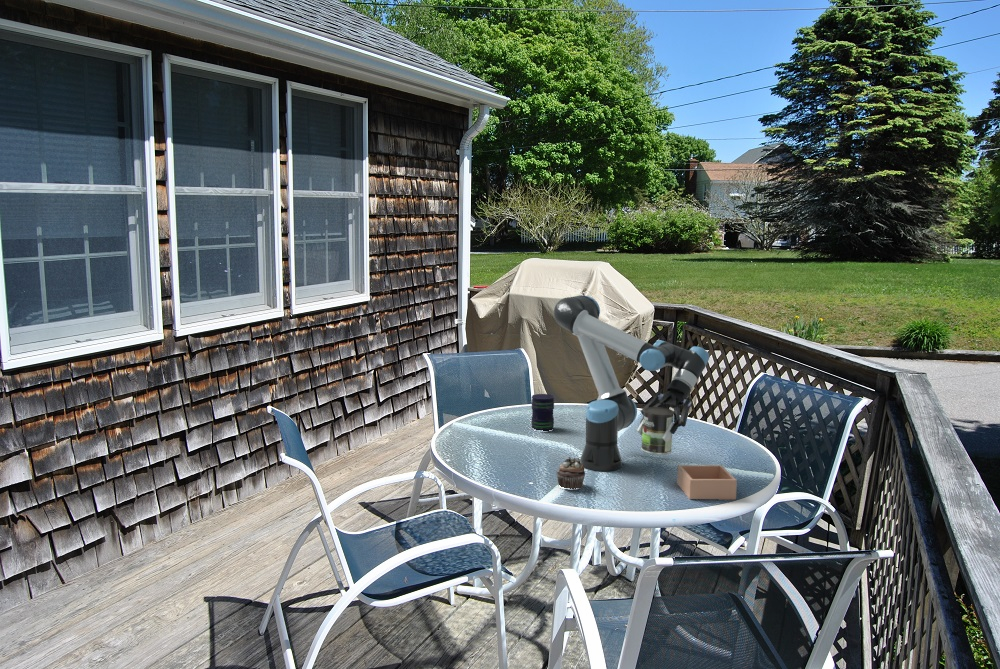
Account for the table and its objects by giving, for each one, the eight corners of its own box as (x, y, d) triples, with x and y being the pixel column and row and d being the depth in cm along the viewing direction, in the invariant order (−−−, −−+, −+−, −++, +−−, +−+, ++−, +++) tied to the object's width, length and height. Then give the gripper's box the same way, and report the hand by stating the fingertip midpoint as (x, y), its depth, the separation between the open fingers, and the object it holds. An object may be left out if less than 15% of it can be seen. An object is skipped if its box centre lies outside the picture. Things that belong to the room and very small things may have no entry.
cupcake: (582, 481, 244) (583, 453, 243) (586, 491, 235) (587, 462, 233) (554, 481, 244) (555, 453, 243) (557, 491, 234) (558, 462, 233)
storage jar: (527, 430, 309) (527, 397, 307) (537, 425, 317) (538, 393, 315) (547, 433, 304) (547, 399, 302) (557, 428, 312) (558, 395, 310)
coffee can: (651, 456, 237) (654, 415, 235) (635, 447, 246) (637, 407, 244) (677, 453, 240) (680, 413, 238) (660, 444, 250) (663, 405, 248)
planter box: (689, 499, 228) (690, 480, 227) (677, 483, 242) (677, 465, 242) (735, 499, 228) (736, 480, 227) (720, 483, 243) (721, 465, 242)
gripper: (713, 397, 242) (684, 450, 234) (659, 385, 259) (630, 434, 251) (706, 384, 238) (675, 438, 230) (651, 373, 255) (621, 422, 247)
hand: (651, 436), depth 241 cm, fingers closed on coffee can, 10 cm apart
